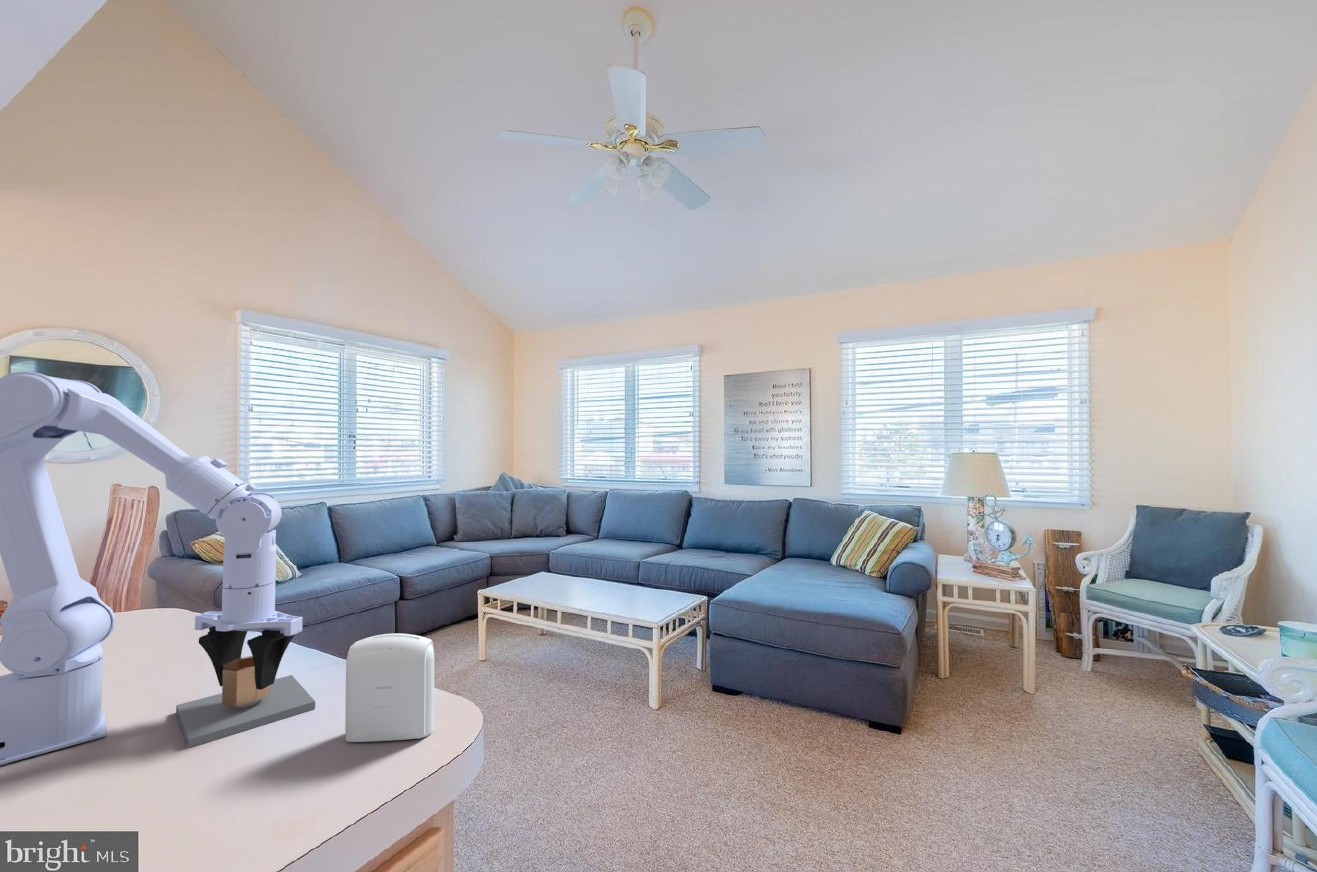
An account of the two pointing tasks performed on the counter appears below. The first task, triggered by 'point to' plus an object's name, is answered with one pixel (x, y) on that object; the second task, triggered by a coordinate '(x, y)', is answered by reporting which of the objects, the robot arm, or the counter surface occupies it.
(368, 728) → the photo printer
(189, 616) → the counter surface
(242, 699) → the octagonal cardboard bin
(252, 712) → the plate
